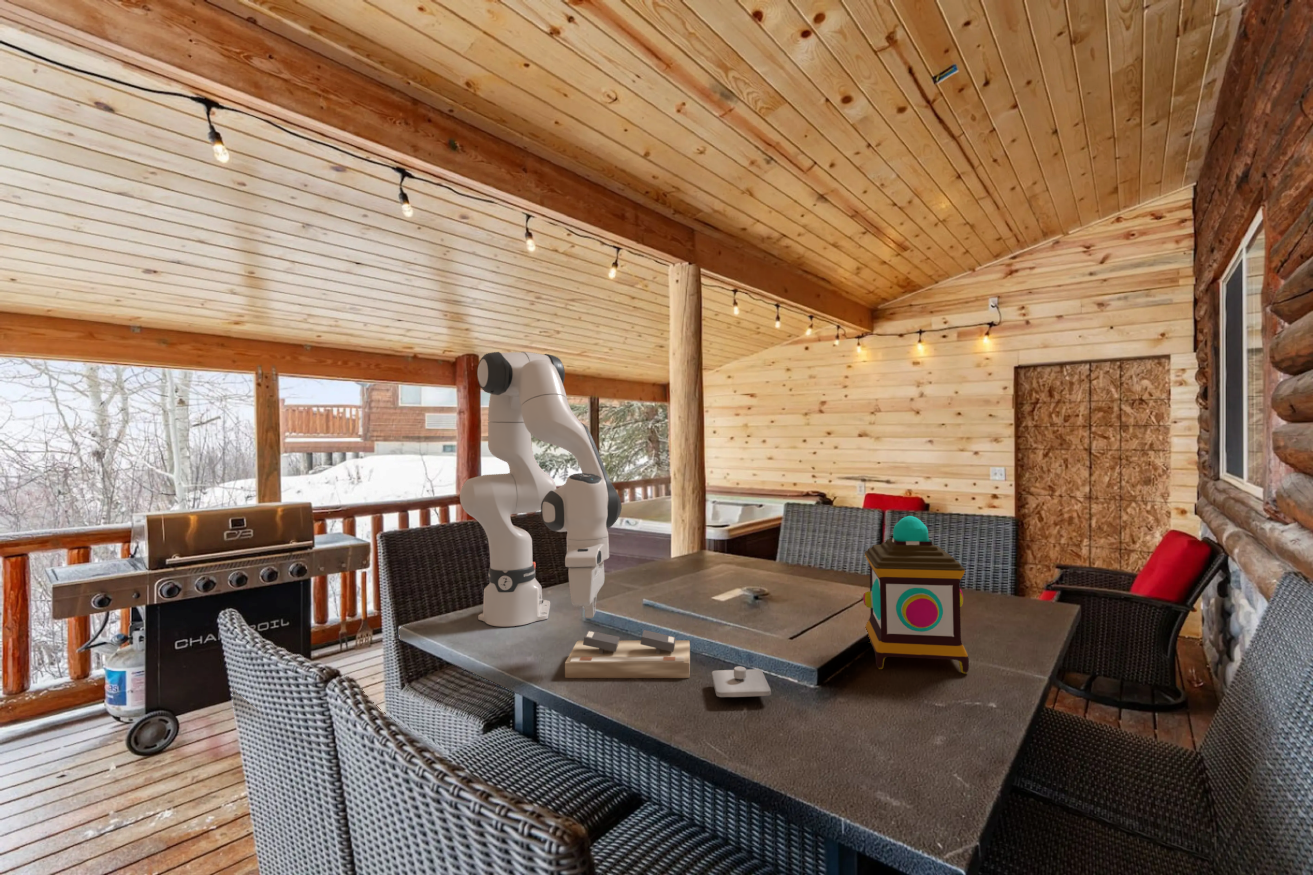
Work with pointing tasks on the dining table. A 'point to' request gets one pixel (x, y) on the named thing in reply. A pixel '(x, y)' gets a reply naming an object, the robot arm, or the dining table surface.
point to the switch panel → (629, 661)
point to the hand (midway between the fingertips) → (590, 616)
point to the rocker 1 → (601, 640)
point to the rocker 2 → (658, 640)
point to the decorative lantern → (914, 598)
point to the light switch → (740, 683)
